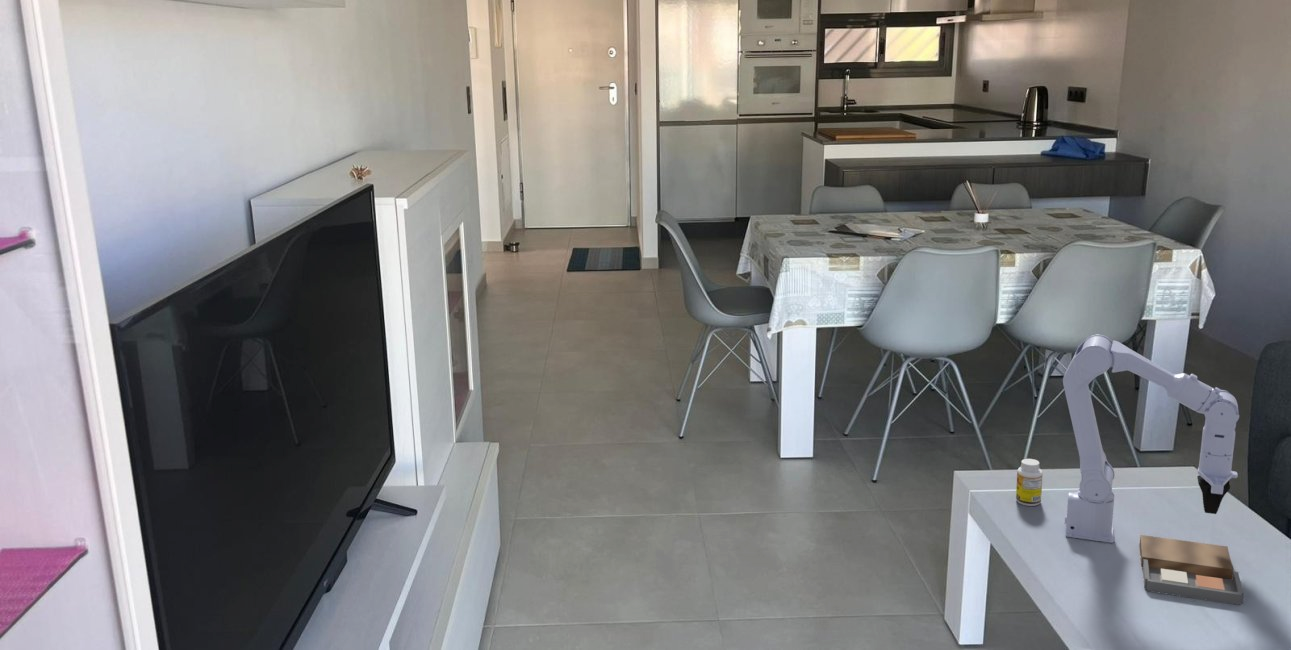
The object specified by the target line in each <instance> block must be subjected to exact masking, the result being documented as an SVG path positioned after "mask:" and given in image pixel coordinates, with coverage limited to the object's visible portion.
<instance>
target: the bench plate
mask: <svg viewBox="0 0 1291 650" xmlns="http://www.w3.org/2000/svg"><path fill="white" fill-rule="evenodd" d="M1138 546H1139V555H1140V556H1141V558H1140V565H1141V567H1143V559H1147V560H1148V567H1149V568H1154V569H1160V570H1161V569H1168V570H1175V571H1182V572H1186V573H1188V574H1195V575H1202V576H1209V577H1216V578H1223V579H1230V580H1232V579H1233V572H1234V567H1233V564H1232V559H1231V556H1230V552H1229V548H1228V546H1225V545H1221V544H1220V545H1219V544H1211V543H1205V542H1199V541H1196V542H1195V541H1188V540H1182V539H1176V538H1175V539H1174V538H1166V537H1159V536H1153V535H1152V536H1150V535H1146V534H1140V535H1139V544H1138Z"/></svg>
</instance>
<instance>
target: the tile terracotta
mask: <svg viewBox="0 0 1291 650" xmlns="http://www.w3.org/2000/svg"><path fill="white" fill-rule="evenodd" d="M1195 585H1196V586H1199V587H1205V588H1212V589H1219V590H1225V588H1224V584H1223V580H1222V579H1221V578H1215V577H1208V576H1201V575H1196V578H1195Z"/></svg>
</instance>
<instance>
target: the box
mask: <svg viewBox="0 0 1291 650" xmlns="http://www.w3.org/2000/svg"><path fill="white" fill-rule="evenodd" d="M1201 576H1202V575H1201ZM1208 577H1209V576H1208ZM1195 578H1196V575H1195V574H1188V573H1187V580H1188V585H1185V584H1178V583H1172V582H1165V581H1161V580H1160V569H1154V568H1149V567H1148V560H1147V559H1143V568H1142V579H1144V580H1143V588H1147V589H1146V592H1150V591H1153V592H1152V593H1157V592H1160V593H1159V594H1163V593H1167V594H1166V595H1170V594H1174V595H1173V596H1176V595H1178V596H1177V597H1183V596H1185V597H1184V598H1189V597H1191V599H1196V598H1197V600H1203V601H1204V600H1205V601H1209V602H1210V601H1211V602H1215V601H1216V603H1217V602H1218V603H1223V604H1230V605H1236V606H1242V605H1241V604H1243V602H1244V601H1243V600H1244V589H1243V586H1242V582H1241V578H1240V575H1239V572H1237V571H1233V577H1232V580H1230V579H1223V578H1221V579H1222V580H1223V584H1224V588H1225V590H1219V589H1212V588H1205V587H1199V586H1196V585H1195ZM1215 578H1216V577H1215ZM1179 595H1180V596H1179Z"/></svg>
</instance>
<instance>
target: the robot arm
mask: <svg viewBox="0 0 1291 650" xmlns="http://www.w3.org/2000/svg"><path fill="white" fill-rule="evenodd" d="M1110 368H1112V370H1111V373H1119V372H1125V371H1128V372H1131V373H1132V374H1135V375H1137V376H1139V377H1140V378H1143V379H1145V380H1147V381H1149V382H1151V383H1154V384H1155V385H1158V386H1160V387H1161V388H1164V389H1165V391H1166V394H1167V397H1168V398H1170V399H1171V400H1174V401H1176V402H1178V403H1180V404H1181V405H1183V406H1185V407H1186V408H1188V409H1190V410H1192V411H1194V412H1196V413H1198V414H1203V415H1204V417H1205V421H1204V426H1203V428H1202V435H1201V443H1200V444H1201V445H1200V453H1199V462H1198V468H1197V474H1198V475H1197V483H1198V486H1199V489H1200V491H1201V494H1202V504H1203V506H1202V507H1203V510H1204V513H1206V514H1213V515H1217V513H1218V511H1219V509H1220V506H1221V503H1222V500H1223V499H1224V497H1225V496H1226V494H1227V493H1228V492H1229V491H1230V488H1231V485H1230V480H1231V479H1238V476H1239V475H1238V474H1239V473H1238V472H1237V471H1234V470H1232V466H1233V459H1234V458H1233V457H1234V450H1235V449H1234V448H1235V442H1236V427H1237V422H1238V420H1239V419H1240V413H1239V412H1240V411H1239V405H1238V401H1237V399H1236V397H1235V396H1234V395H1233V394H1231V393H1230V392H1229V391H1228V390H1225V389H1221V388H1219V387H1217V386H1215V387H1212V386H1210V385H1209V384H1207V383H1204V382H1202V381H1200V380H1199V379H1198V375H1195V374H1194V373H1191V374H1188V373H1185V372H1181V373H1172V372H1171V371H1169V370H1167V369H1166V368H1164V367H1163V366H1161V365H1158V364H1157V363H1155V362H1153V361H1152V360H1151V359H1148V358H1147V357H1145V356H1144V355H1142V354H1139V353H1138V352H1136V351H1135V350H1133V349H1131V348H1129V347H1128V346H1127V345H1124V344H1123V343H1121V342H1120V341H1117V340H1115V339H1114V340H1112V339H1111V338H1109V337H1108V336H1106V335H1104V334H1093V335H1090V336H1088V337H1087V338H1085V339H1084V340H1083V342H1081V343H1080V344H1079V345H1078V347H1077V349H1076V351H1075V353H1074V355H1073V357H1072V359H1071V360H1070V363H1069V365H1068V366H1067V369H1066V371H1065V373H1064V376H1063V378H1062V383H1063V384H1062V385H1063V389H1064V394H1065V398H1066V402H1067V407H1068V411H1069V412H1068V413H1069V415H1070V419H1071V424H1072V430H1073V433H1074V437H1075V443H1076V447H1077V451H1078V456H1079V466H1080V467H1079V468H1080V474H1081V476H1080V477H1081V479H1080V482H1079V488H1078V490H1077V491H1069V492H1068V493H1067V509H1066V515H1064V525H1066V526H1065V537H1067V538H1072V539H1081V540H1089V541H1095V542H1103V543H1110V544H1113V543H1114V540H1115V539H1114V538H1115V537H1114V525H1113V521H1114V519H1113V518H1114V505H1115V494H1114V492H1113V481H1114V479H1115V474H1116V473H1115V470H1114V468H1113V466H1112V465H1111V464H1110V463H1109V461H1108V460H1107V456H1106V455H1107V454H1106V453H1105V452H1104V450H1103V445H1102V440H1101V437H1100V436H1101V435H1100V432H1099V427H1098V422H1097V417H1096V414H1095V409H1094V405H1093V400H1092V395H1091V392H1090V387H1089V385H1090V383H1091V382H1092V381H1093V380H1094V379H1095V378H1096V377H1098V376H1101V375H1103V374H1104V373H1106V372H1107V371H1108V370H1109V369H1110Z"/></svg>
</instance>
